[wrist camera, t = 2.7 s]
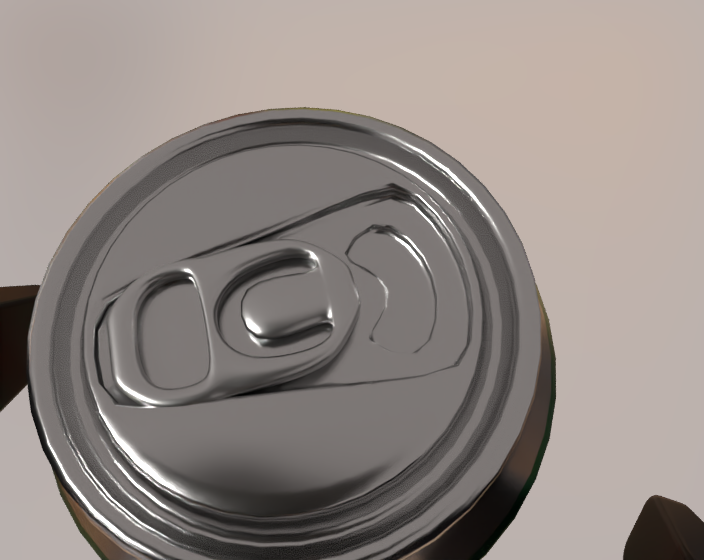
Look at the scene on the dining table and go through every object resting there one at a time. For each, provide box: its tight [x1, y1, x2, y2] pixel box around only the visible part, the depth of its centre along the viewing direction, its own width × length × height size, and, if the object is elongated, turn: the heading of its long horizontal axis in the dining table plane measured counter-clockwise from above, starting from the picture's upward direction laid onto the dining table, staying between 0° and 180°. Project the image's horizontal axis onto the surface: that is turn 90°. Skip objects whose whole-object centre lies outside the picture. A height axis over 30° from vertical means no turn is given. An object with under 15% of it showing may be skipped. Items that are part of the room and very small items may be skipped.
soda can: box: [26, 107, 556, 560], centre depth 11 cm, size 5×5×12 cm
